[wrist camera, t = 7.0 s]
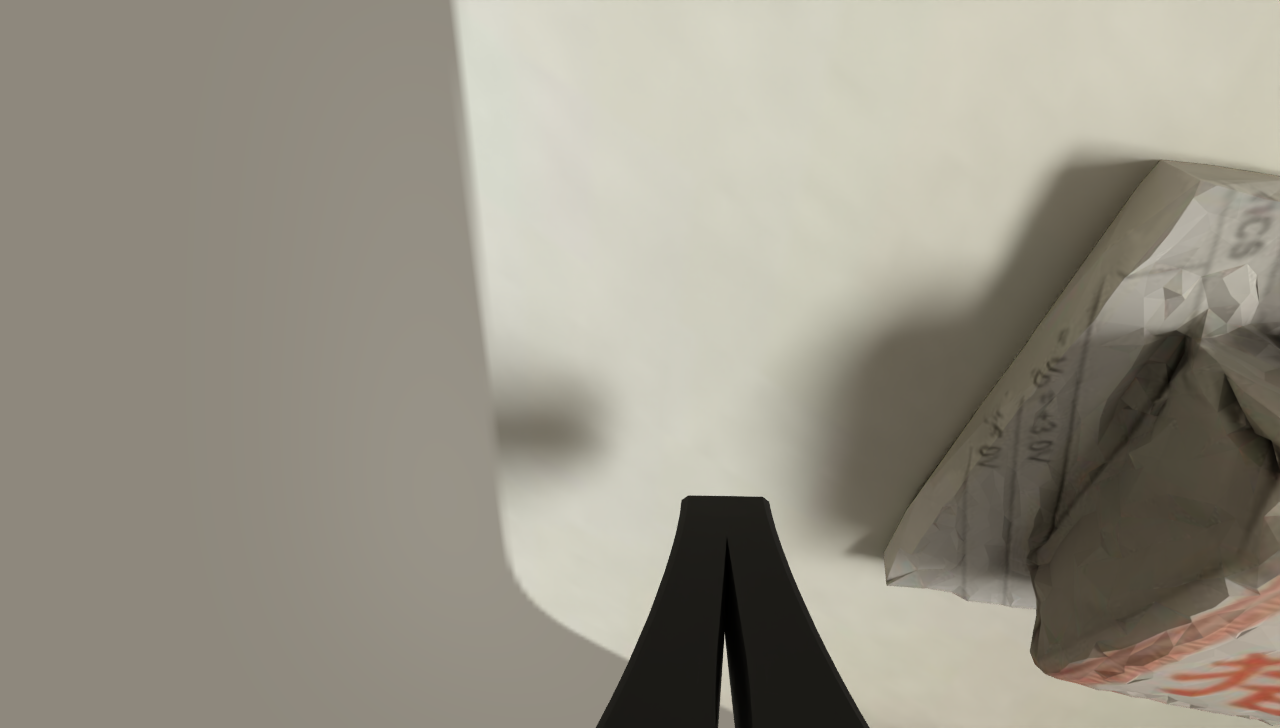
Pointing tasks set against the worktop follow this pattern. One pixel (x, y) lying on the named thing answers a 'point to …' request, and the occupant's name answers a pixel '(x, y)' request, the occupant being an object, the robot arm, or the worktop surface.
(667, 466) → the worktop surface
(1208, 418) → the packaged product
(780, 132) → the worktop surface
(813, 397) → the worktop surface
